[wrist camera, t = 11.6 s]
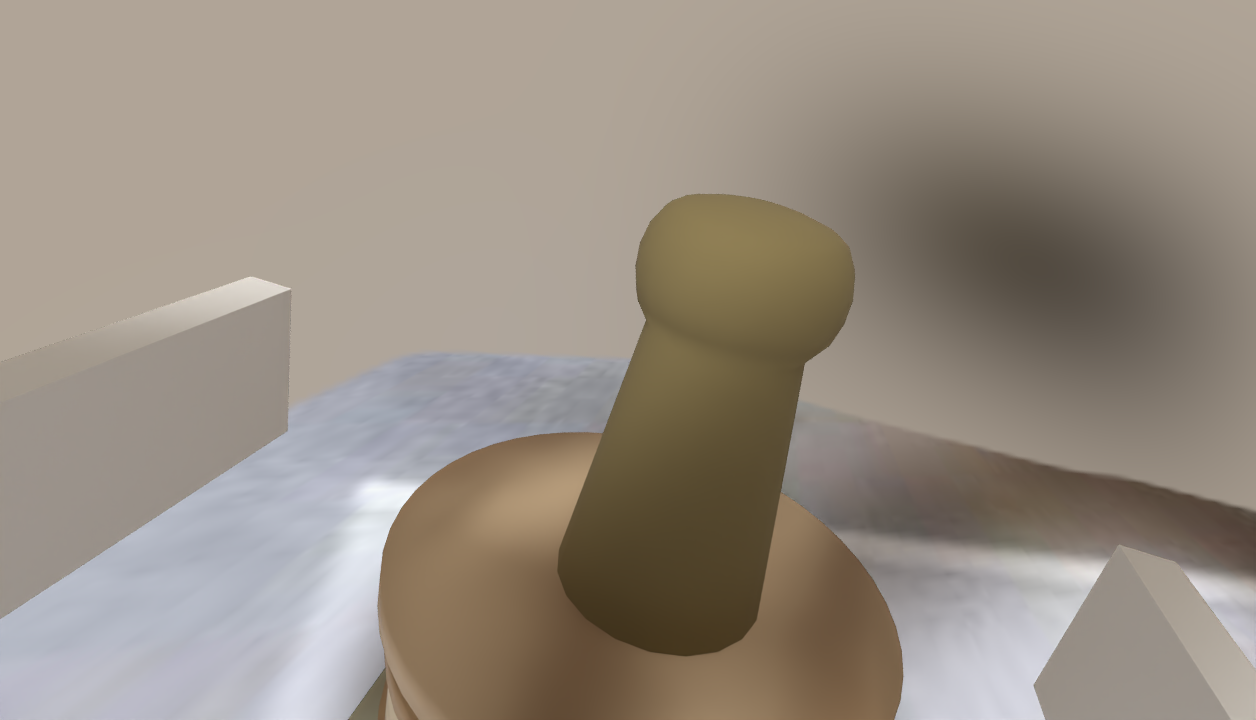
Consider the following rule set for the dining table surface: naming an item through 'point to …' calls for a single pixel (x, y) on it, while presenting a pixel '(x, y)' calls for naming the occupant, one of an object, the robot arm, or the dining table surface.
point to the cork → (703, 422)
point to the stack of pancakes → (580, 651)
